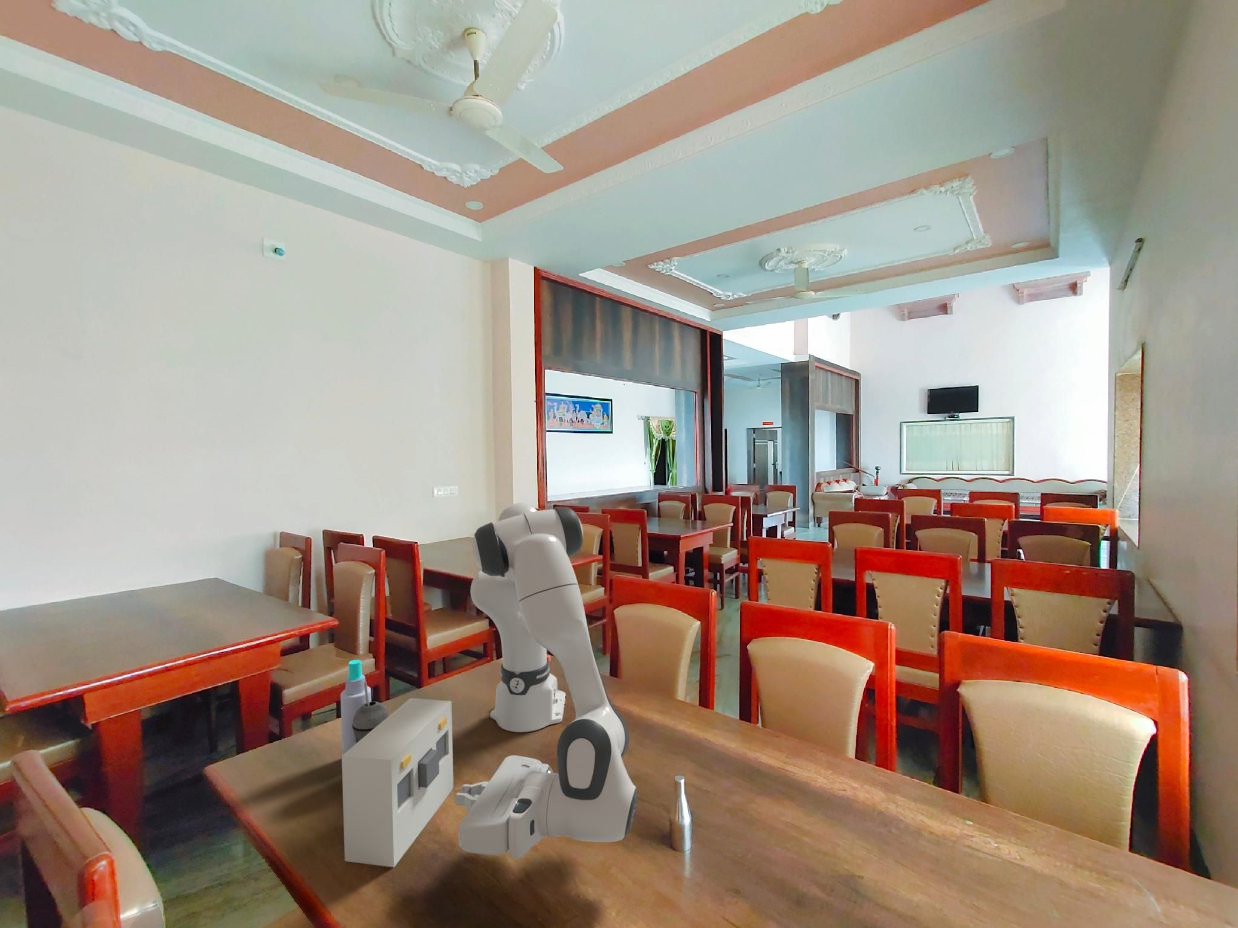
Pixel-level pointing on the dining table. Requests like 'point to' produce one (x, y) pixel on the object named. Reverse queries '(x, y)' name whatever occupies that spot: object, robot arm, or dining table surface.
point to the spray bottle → (352, 702)
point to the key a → (403, 789)
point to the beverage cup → (368, 717)
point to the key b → (441, 746)
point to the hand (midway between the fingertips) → (458, 794)
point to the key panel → (394, 782)
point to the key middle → (428, 768)
